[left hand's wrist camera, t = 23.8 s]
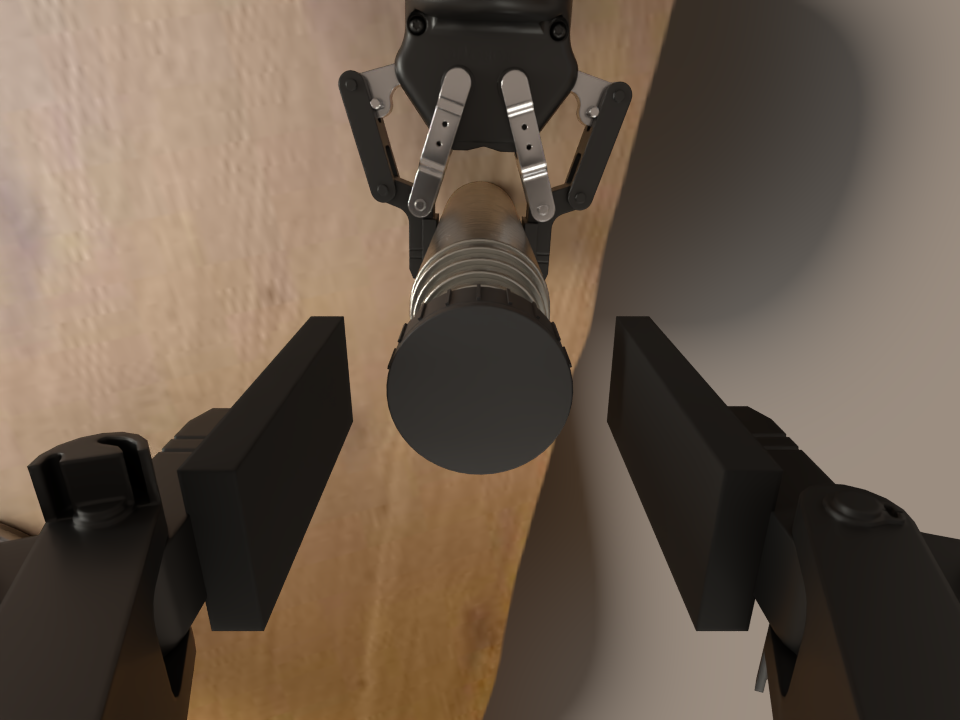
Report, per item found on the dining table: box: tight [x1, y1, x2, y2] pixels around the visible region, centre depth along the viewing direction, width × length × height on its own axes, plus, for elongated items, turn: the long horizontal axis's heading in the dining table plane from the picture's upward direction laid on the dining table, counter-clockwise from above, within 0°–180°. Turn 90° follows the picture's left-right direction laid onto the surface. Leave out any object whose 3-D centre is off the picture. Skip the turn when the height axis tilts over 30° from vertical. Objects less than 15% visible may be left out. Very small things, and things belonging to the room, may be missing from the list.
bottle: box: [410, 182, 550, 320], centre depth 25 cm, size 4×4×25 cm
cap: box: [387, 284, 573, 475], centre depth 14 cm, size 4×4×2 cm
